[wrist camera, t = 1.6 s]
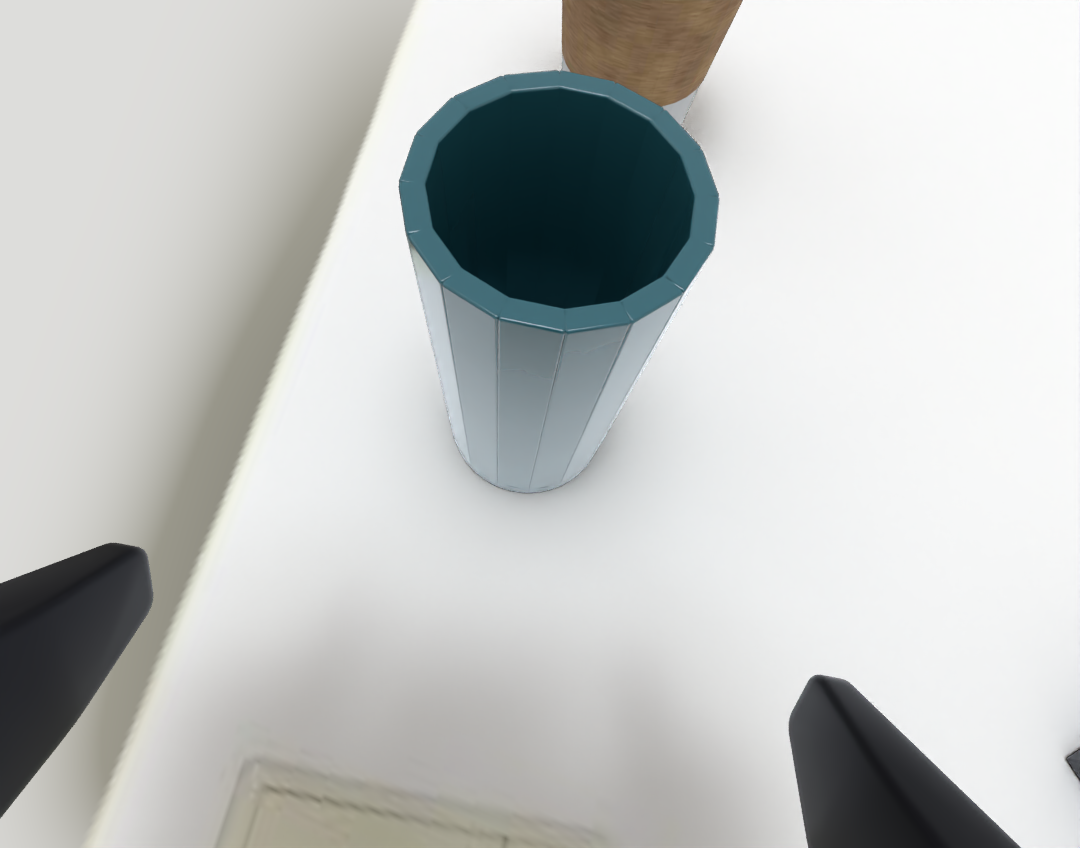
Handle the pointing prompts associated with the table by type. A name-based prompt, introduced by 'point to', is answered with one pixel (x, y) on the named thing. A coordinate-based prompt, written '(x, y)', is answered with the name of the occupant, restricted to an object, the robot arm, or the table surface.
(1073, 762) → the scale
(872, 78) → the table surface
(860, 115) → the table surface
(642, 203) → the tumbler
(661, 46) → the coffee cup
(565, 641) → the table surface
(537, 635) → the table surface
